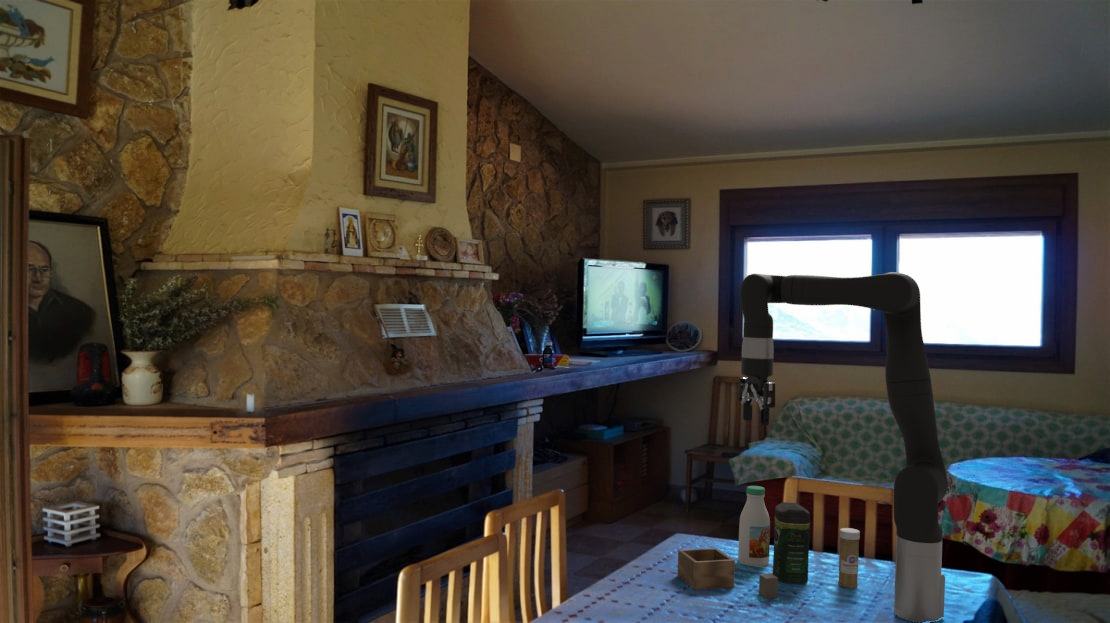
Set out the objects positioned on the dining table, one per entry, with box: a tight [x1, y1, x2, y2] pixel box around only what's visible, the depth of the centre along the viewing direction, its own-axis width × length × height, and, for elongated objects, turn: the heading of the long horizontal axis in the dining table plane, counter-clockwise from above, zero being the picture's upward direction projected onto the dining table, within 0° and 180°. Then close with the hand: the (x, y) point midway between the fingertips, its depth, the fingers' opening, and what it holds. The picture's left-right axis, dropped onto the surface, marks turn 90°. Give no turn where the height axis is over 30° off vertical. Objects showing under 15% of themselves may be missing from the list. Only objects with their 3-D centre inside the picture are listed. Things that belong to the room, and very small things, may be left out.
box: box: [677, 547, 736, 590], centre depth 205 cm, size 10×10×7 cm
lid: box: [758, 573, 802, 606], centre depth 196 cm, size 11×11×6 cm
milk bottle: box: [737, 485, 771, 567], centre depth 221 cm, size 8×8×20 cm
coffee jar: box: [772, 501, 811, 585], centre depth 210 cm, size 10×8×19 cm
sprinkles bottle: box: [838, 527, 861, 589], centre depth 207 cm, size 5×5×13 cm
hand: (755, 422), depth 210 cm, fingers open, 8 cm apart
